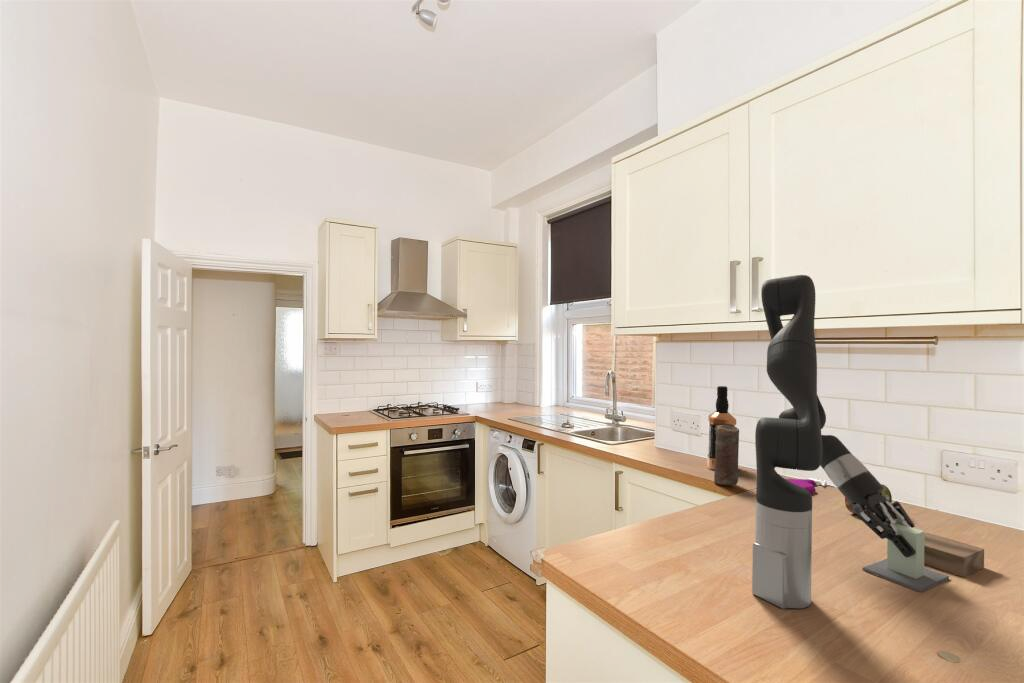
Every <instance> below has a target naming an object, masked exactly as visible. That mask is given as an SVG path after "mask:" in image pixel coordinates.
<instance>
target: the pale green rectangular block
mask: <svg viewBox="0 0 1024 683" xmlns="http://www.w3.org/2000/svg"><path fill="white" fill-rule="evenodd" d="M894 525H895V527H896V528H897V530H898V531H899V533H900V535H899V536H901V535H902V536H903V537H904V538H905V540H906V541H907V542H908V543H909V544H910V545H911V547H912V548H913V549H914V550H915V551H916V553H915V554H914V555H912V556H910V557H905V556H904V555H903V554H902V553H901V552H900V551H899V549H898V548H897V547H896V546H895V545H894V543H893V542H892V541H891V540H888V539H886V541H887V542H886V544H887V545H886V546H887V549H886V550H887V552H886V553H887V554H886V555H887V556H886V557H887V558H886V559H887V569H890V570H893V571H895V572H898V573H901V574H904V575H907V576H909V577H912V578H915V579H917V578H919V577H921V576H923V575H924V568H925V564H924V539H925V533H926V532H925V530H921V529H918V528H915V527H913V528H911V527H908V526H904V525H900V524H897V523H895V524H894ZM889 528H890V527H889Z"/></svg>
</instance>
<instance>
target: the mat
mask: <svg viewBox="0 0 1024 683" xmlns="http://www.w3.org/2000/svg"><path fill="white" fill-rule="evenodd" d="M863 570H865V571H864V572H866V571H868V572H870V573H869V574H871V573H872V574H871V575H874V574H875V575H874V576H876V575H878V576H877V577H879V576H880V578H882V577H883V578H882V579H884V578H885V580H887V579H888V580H887V581H890V582H892V581H893V583H895V584H897V585H900V584H901V586H903V587H906V588H909V589H911V590H914V591H917V592H919V593H922V592H924V591H926V590H928V589H931V588H933V587H935V586H937V585H940V584H942V583H944V582H945V581H947V580H949V579H950V576H949V575H946V574H944V573H941V572H937V571H935V570H932V569H928V568H926V567H924V575H923V576H921V577H919V578H917V579H915V578H912V577H909V576H907V575H904V574H901V573H898V572H895V571H893V570H890V569H887V558H885V559H882V560H879V561H877V562H874V563H871V564H868V565H866V566H863V567H862V571H863ZM868 572H867V573H868Z"/></svg>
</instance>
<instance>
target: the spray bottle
mask: <svg viewBox="0 0 1024 683" xmlns="http://www.w3.org/2000/svg"><path fill="white" fill-rule="evenodd" d="M785 479H786V480H788V481H789V482H791V483H794V484H796V485H798V486H800V487H802V488H804V489H806V490H807V491H809V492H810V493H811V495H812V494H815V493H816V486H822V487H825V485H827V482H828V481H827V482H825V481H826V480H824V481H821V480H822V479H819V480H817V478H814V479H813V478H812V477H808V479H803V478H802V479H801V478H800V479H799V478H798V479H797V478H796V479H795V478H785ZM827 486H828V485H827Z"/></svg>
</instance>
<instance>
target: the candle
mask: <svg viewBox="0 0 1024 683" xmlns="http://www.w3.org/2000/svg"><path fill="white" fill-rule="evenodd" d="M739 444H740V429H739V428H738V427H737V426H735V427H734V426H729V425H718V426H717V428H716V453H715V470H714V476H713V477H714V478H713V480H714V481H713V482H714V483H715V484H718V485H722V486H728V487H733V486H736V485H737V484H738V482H739V446H740V445H739Z"/></svg>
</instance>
